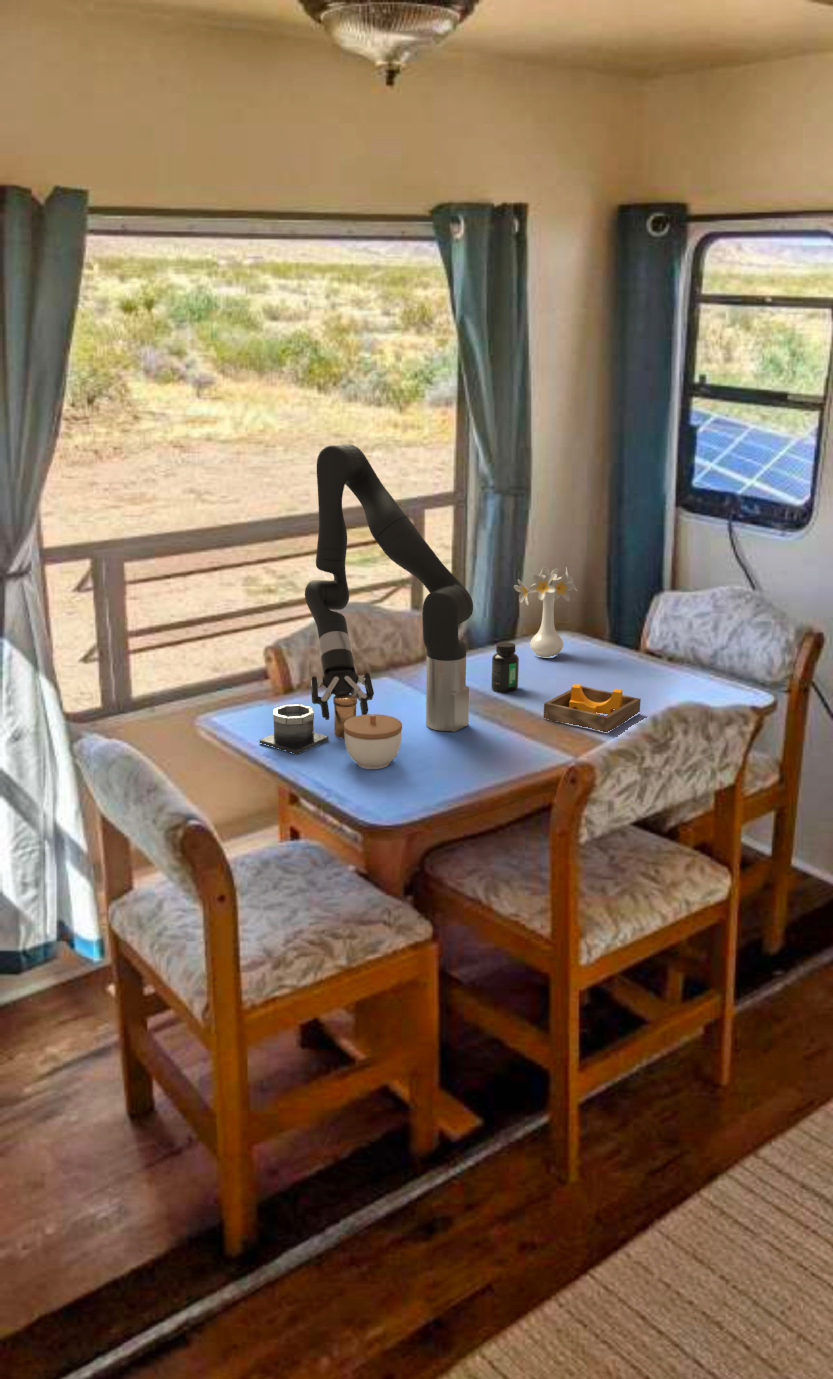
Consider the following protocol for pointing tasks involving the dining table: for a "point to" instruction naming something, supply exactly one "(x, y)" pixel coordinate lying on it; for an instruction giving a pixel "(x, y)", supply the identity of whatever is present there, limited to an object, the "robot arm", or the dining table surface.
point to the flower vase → (547, 608)
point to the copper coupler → (343, 711)
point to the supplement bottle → (505, 668)
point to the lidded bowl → (372, 739)
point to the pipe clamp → (585, 704)
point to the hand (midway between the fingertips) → (346, 717)
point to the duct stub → (294, 729)
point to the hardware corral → (562, 713)
